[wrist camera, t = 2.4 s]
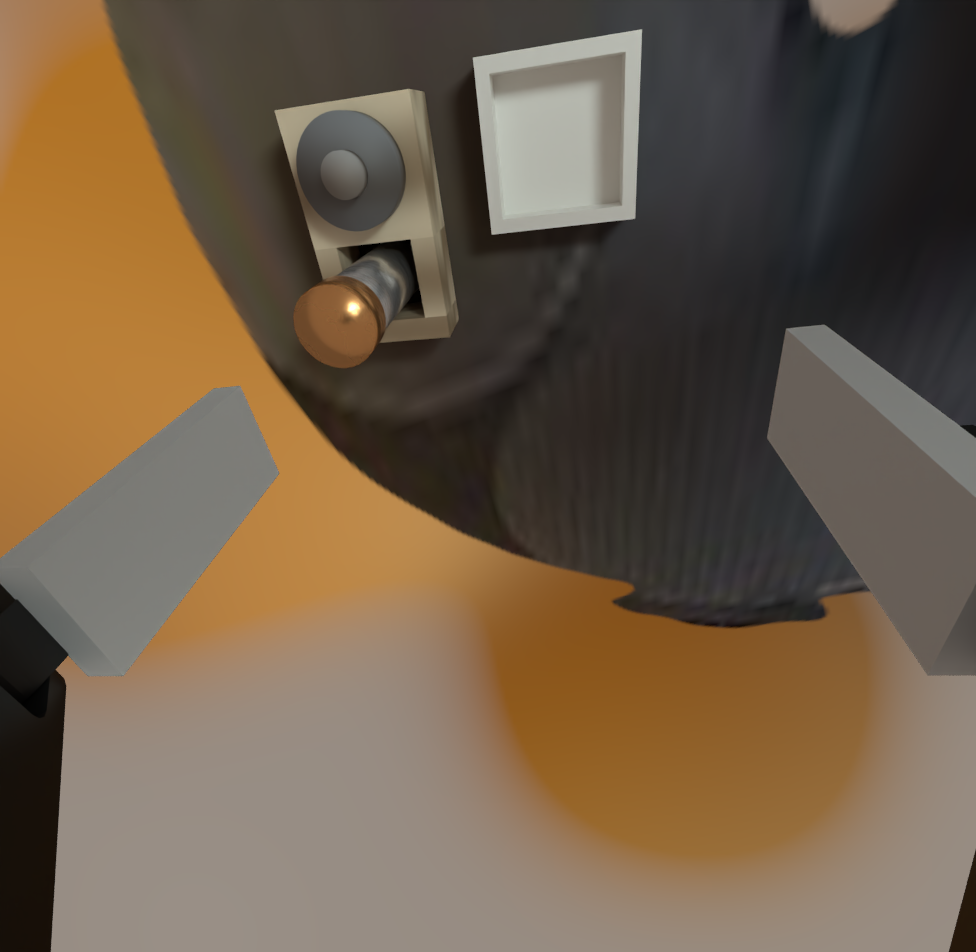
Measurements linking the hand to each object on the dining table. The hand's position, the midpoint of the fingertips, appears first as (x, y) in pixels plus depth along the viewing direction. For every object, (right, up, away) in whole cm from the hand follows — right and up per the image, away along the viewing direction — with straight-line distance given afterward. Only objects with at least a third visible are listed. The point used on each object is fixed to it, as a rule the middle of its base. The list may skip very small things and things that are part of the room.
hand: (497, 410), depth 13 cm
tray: (+4, +19, +19) cm, 28 cm away
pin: (-7, +14, +25) cm, 29 cm away
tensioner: (-7, +16, +23) cm, 29 cm away
